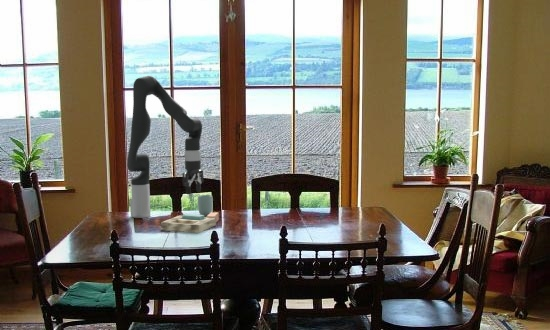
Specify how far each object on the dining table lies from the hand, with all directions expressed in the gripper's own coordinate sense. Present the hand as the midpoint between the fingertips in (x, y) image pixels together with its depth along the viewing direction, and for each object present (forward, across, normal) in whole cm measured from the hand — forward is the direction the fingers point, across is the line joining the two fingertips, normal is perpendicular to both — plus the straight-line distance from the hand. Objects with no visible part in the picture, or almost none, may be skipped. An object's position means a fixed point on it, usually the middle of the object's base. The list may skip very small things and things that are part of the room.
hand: (193, 192), depth 264 cm
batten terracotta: (+16, +11, -4) cm, 20 cm away
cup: (+16, +24, +10) cm, 31 cm away
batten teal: (+15, 0, 0) cm, 15 cm away
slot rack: (+16, -5, 0) cm, 17 cm away
